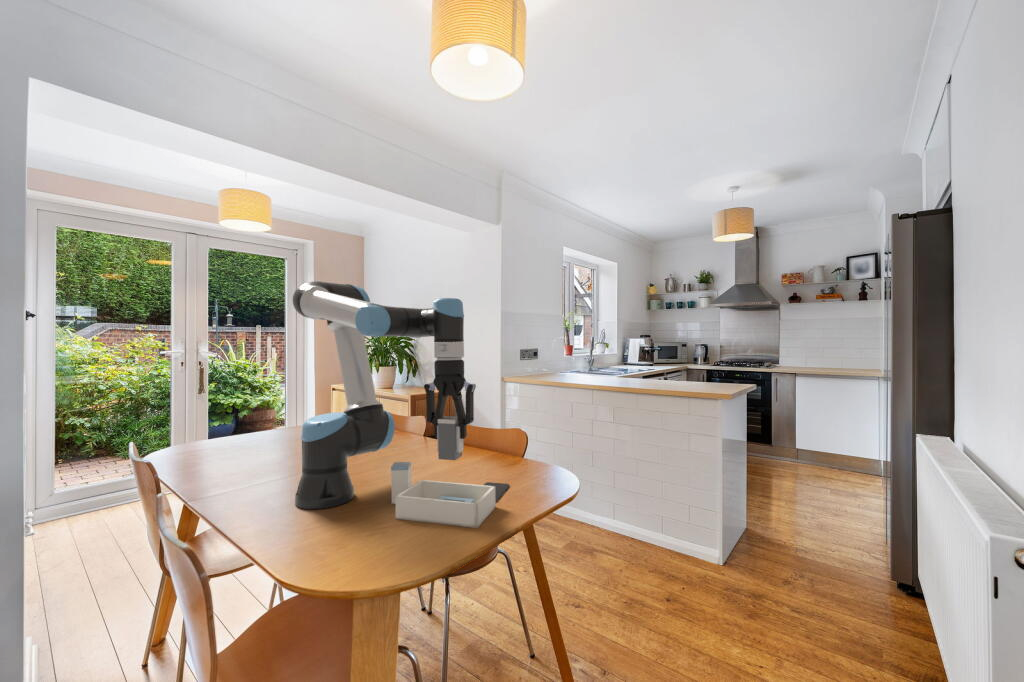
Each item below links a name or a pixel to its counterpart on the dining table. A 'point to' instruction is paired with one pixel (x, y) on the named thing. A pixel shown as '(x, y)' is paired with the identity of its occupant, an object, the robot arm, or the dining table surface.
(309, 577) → the dining table surface
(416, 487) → the tray box
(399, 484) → the cream plug
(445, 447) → the grey plug
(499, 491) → the smartphone
